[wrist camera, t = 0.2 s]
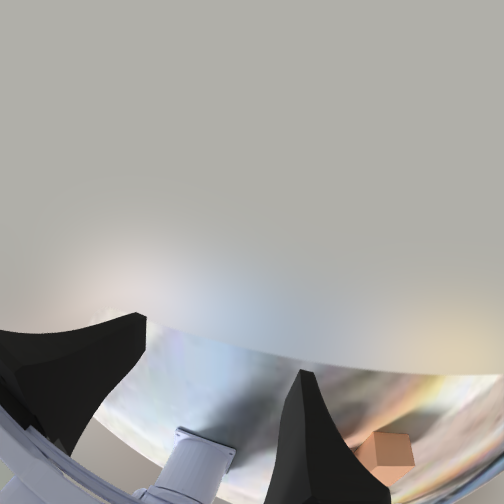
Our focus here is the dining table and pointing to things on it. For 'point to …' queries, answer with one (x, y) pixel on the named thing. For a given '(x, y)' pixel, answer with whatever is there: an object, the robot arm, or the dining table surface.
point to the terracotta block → (386, 456)
